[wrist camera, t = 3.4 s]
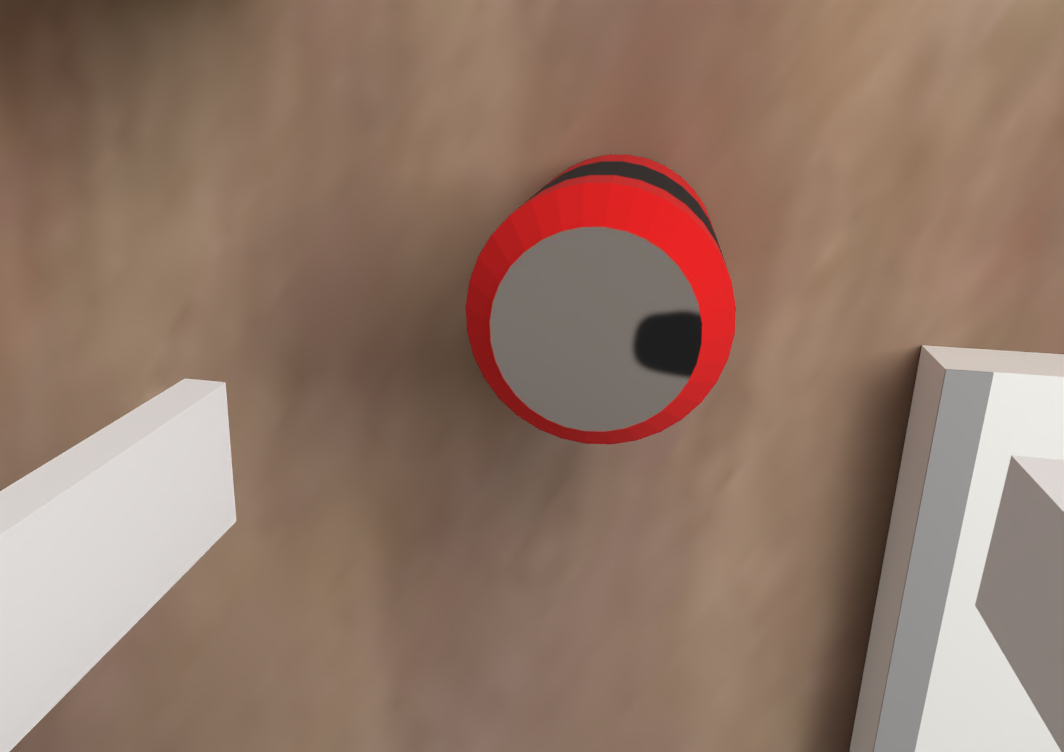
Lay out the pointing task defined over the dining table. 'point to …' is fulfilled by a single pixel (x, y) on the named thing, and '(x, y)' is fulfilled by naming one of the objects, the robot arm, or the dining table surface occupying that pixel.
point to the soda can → (603, 303)
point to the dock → (955, 558)
